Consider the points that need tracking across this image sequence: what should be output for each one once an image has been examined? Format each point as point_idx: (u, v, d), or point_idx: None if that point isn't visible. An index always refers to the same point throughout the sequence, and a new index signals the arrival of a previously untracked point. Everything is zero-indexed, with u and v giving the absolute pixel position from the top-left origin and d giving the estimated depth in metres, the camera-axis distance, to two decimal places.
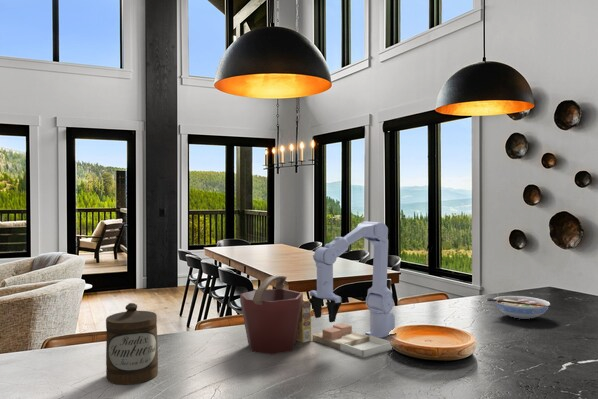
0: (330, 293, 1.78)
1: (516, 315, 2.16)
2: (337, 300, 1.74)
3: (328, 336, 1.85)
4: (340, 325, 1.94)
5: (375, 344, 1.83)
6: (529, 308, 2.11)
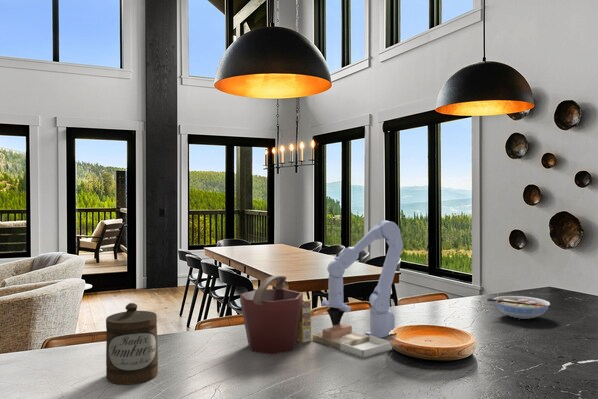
0: (341, 303, 1.94)
1: (516, 315, 2.16)
2: (347, 310, 1.90)
3: (328, 336, 1.85)
4: (340, 325, 1.94)
5: (375, 344, 1.83)
6: (529, 308, 2.11)
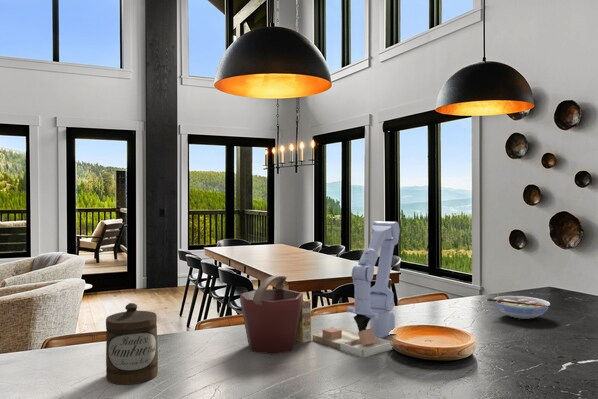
0: (368, 310, 1.83)
1: (516, 315, 2.16)
2: (375, 317, 1.79)
3: (328, 336, 1.85)
4: (367, 335, 1.82)
5: (375, 344, 1.83)
6: (529, 308, 2.11)
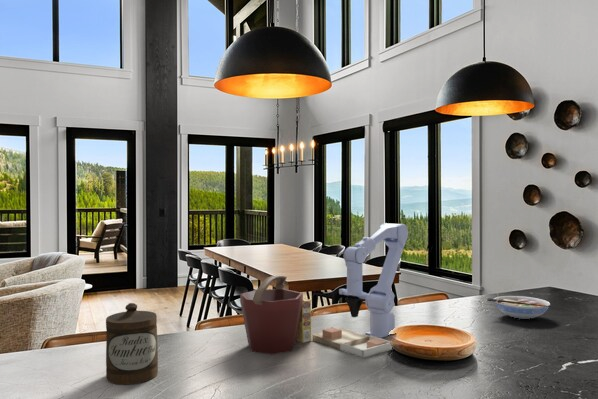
0: (360, 291, 1.85)
1: (516, 315, 2.16)
2: (367, 298, 1.81)
3: (328, 336, 1.85)
4: None
5: None
6: (529, 308, 2.11)
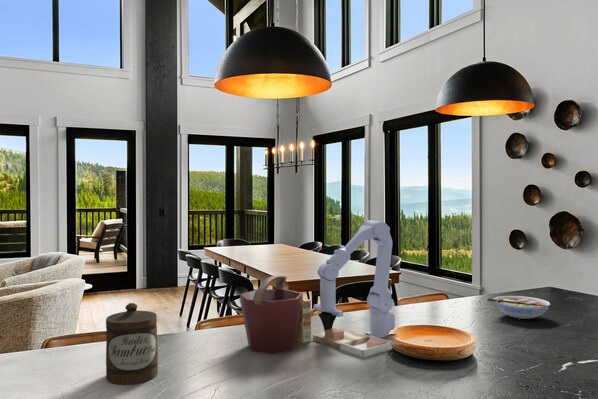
0: (333, 307, 1.87)
1: (516, 315, 2.16)
2: (339, 314, 1.83)
3: (330, 337, 1.84)
4: None
5: None
6: (529, 308, 2.11)
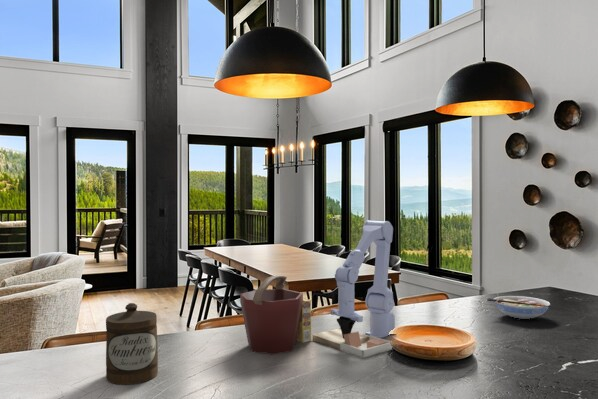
0: (352, 312, 1.79)
1: (516, 315, 2.16)
2: (359, 319, 1.75)
3: None
4: None
5: None
6: (529, 308, 2.11)
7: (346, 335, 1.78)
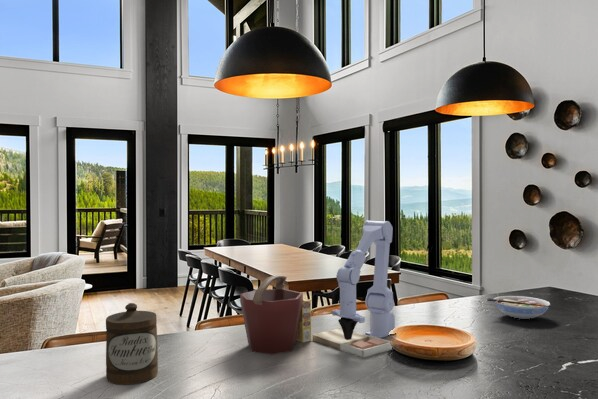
0: (353, 313, 1.79)
1: (516, 315, 2.16)
2: (361, 320, 1.75)
3: (354, 346, 1.75)
4: None
5: None
6: (529, 308, 2.11)
7: None
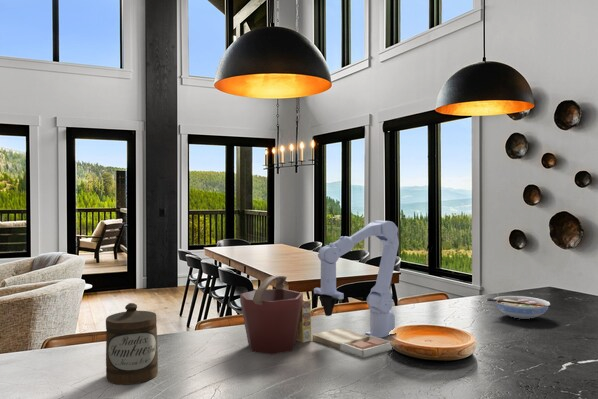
0: (333, 290, 1.87)
1: (516, 315, 2.16)
2: (340, 297, 1.83)
3: (354, 346, 1.75)
4: None
5: None
6: (529, 308, 2.11)
7: None
